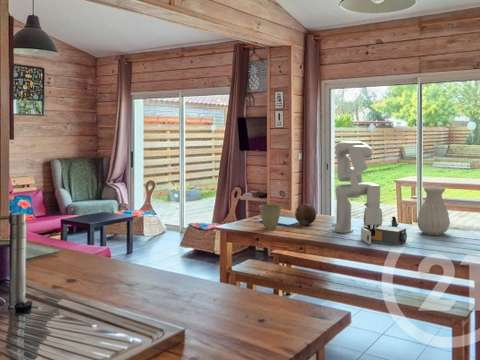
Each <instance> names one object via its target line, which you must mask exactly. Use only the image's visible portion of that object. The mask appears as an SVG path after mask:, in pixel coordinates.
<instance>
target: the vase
mask: <svg viewBox="0 0 480 360" xmlns="http://www.w3.org/2000/svg"><path fill="white" fill-rule="evenodd" d="M423 190H424V191H425V193H426V196H425V199H424V201H423V203H422V205H421V207H420V209H419V212H418V215H417V219H416V223H417V227H418V229H419V230H420V231H421V232H422V233H424V234H425V235H428V236H441V235H443V234H444V233H447V231H448V230H449V227H450V224H451V221H450V217H449V211H448V209H447V207H446V204H445V203H444V202H445V201H444V199H443V193H444V192H445V190H446V188H445V187H443V186H442V187H440V186H425V187H424V188H423Z"/></svg>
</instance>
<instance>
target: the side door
mask: <svg viewBox="0 0 480 360" xmlns="http://www.w3.org/2000/svg"><path fill="white" fill-rule="evenodd" d="M363 227H364V226H361V227H360V240H362V241H363V242H364V243H366V244H367V245H372V241H371V232H370V231H368V230H367V229H365V228H363Z"/></svg>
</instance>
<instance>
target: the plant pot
mask: <svg viewBox="0 0 480 360" xmlns="http://www.w3.org/2000/svg"><path fill="white" fill-rule="evenodd" d="M281 210H282V205H280V204H261V205H259V212H260V213H259V214H260V216H261V217H260V218H261V222H262V225H263V227H264V230H266V229H267V230H266V231H274V229H275V230H276V229H277V227H278V223H279V220H280V217H281Z"/></svg>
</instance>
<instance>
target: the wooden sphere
mask: <svg viewBox="0 0 480 360" xmlns="http://www.w3.org/2000/svg"><path fill="white" fill-rule="evenodd" d="M294 217H295V219H296V222H298V223H299V224H301V225H303V226H309V225H311V224H312V223H314V222H315V220H316V219H317V210H316V209H315V208H314V206H313V205H312V204H309V203H303V204H300V205H299V206H298V207H297V208H296V209H295V211H294Z"/></svg>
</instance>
